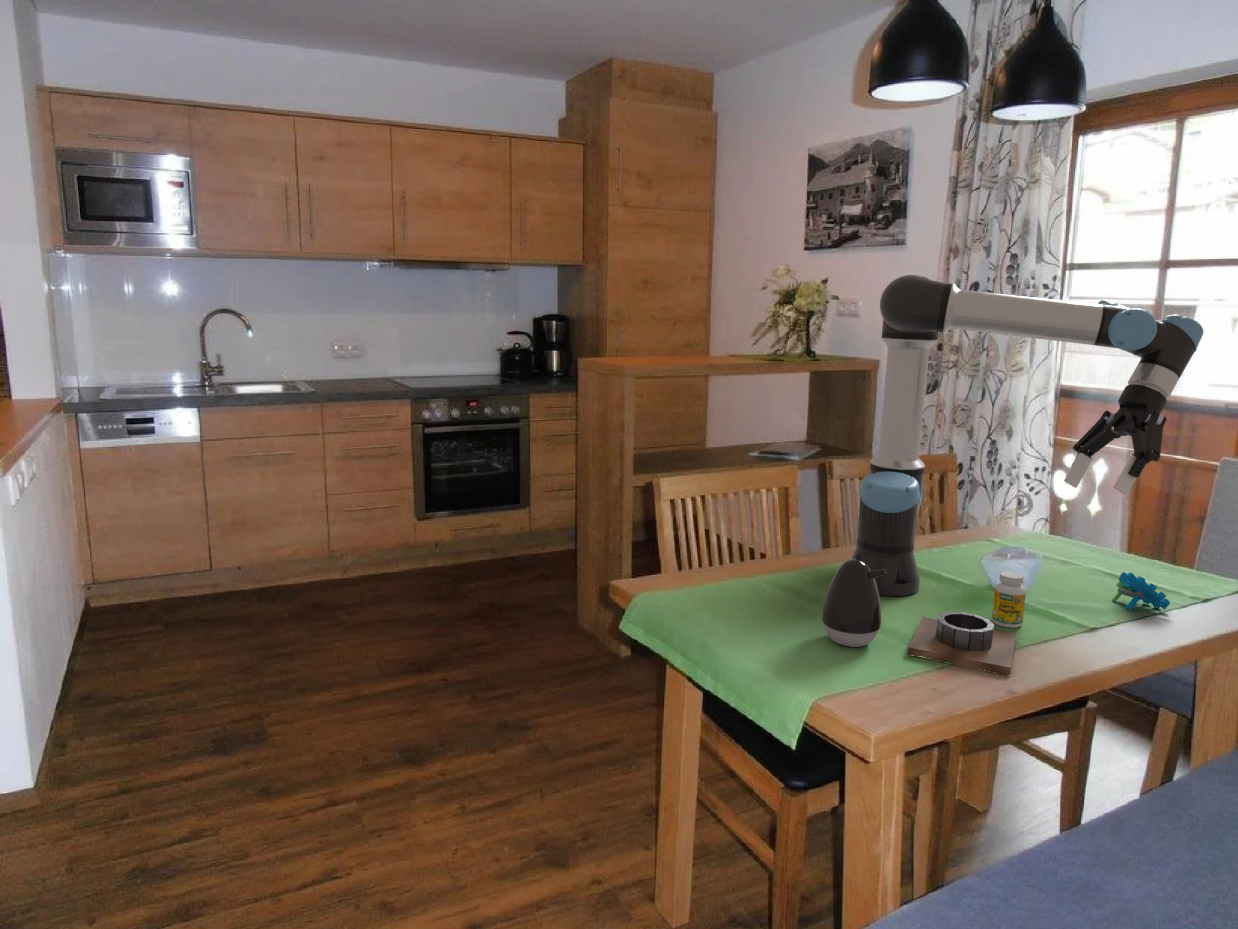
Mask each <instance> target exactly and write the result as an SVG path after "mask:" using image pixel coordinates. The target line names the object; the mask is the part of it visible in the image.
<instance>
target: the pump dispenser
mask: <svg viewBox="0 0 1238 929" xmlns="http://www.w3.org/2000/svg"><path fill="white" fill-rule="evenodd" d="M883 575H886V570H885V569H880V570H872V571H871V570H870V568H869V567H868V565H867V564H866V563H865V562H863V561H861V560H858V559H851V558H850V559H847V560H845V561H844V562H843V563H841V565H840V566H839V567H838V569H837V570H836V572H835V573H834V576H833V577H832V579H831V582H830V584H829V586H828V589H827V592H826V594H825V598H824V601H823V606H822V611H821V612H822V613H821V622H822V623H823V628H824V630H825V633H826V635H827V636H828V638H830V639H831V640H832V641H834V643H837V644H838V645H840V644H841V646H843V645H844V646H843V647H847V646H849V647H848V648H859V647H864V646H866V645H868V644H870V643H872V642H873V640H874V639H875V638H876V636H877V635H878V633H879V630H880V629H881V627H882V607H881V606H882V604H881V598H880V595H879V592H878V588H877V584H876V581H875V579H874V578H877V577H880V576H883Z"/></svg>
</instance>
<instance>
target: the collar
mask: <svg viewBox="0 0 1238 929" xmlns="http://www.w3.org/2000/svg"><path fill="white" fill-rule="evenodd" d="M994 630H995V623H994V622H993V621H992V620H990V619H988V618H986V617H984V616H980V615H978V614H974V613H969V612H962V611H946V612H942V613H940V614H939V615H938V617H937V629H936V638H937V639H938V640H939V641H940V642H941V643H942V644H944V645H947V646H949V647H952V648H955V649H960V650H965V651H984V650H987V649H990V648H991V646H992V639H993V631H994Z"/></svg>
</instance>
